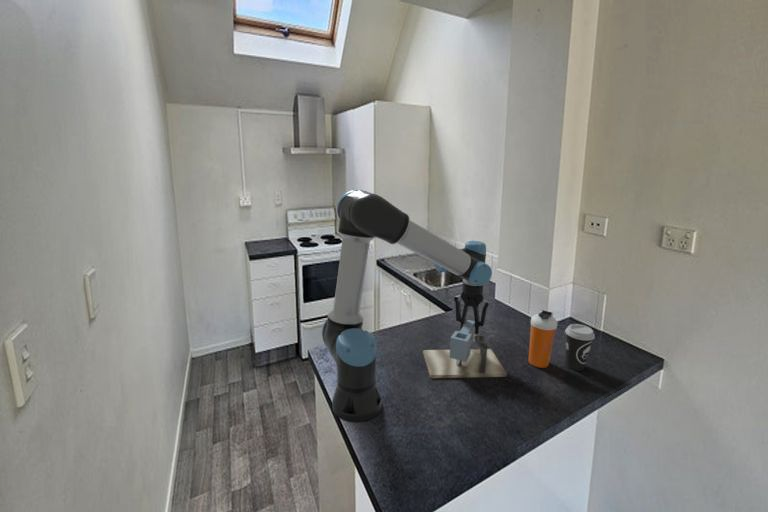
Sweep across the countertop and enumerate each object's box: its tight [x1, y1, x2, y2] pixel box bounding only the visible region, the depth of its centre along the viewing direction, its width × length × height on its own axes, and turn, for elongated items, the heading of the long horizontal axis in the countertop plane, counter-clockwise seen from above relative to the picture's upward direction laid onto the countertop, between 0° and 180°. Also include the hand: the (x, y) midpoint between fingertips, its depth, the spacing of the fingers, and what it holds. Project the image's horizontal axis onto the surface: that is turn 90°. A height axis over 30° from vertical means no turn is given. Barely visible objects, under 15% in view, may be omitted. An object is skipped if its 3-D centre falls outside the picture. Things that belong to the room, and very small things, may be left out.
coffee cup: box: [564, 323, 596, 371], centre depth 136 cm, size 10×10×15 cm
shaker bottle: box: [528, 309, 558, 369], centre depth 137 cm, size 9×9×20 cm
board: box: [422, 348, 508, 379], centre depth 138 cm, size 27×17×1 cm, turn 93°
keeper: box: [475, 335, 490, 373], centre depth 132 cm, size 3×7×12 cm, turn 3°
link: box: [449, 319, 475, 362], centre depth 138 cm, size 17×6×8 cm, turn 153°
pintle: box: [456, 360, 462, 367], centre depth 134 cm, size 2×2×10 cm
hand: (468, 339), depth 144 cm, fingers closed on link, 3 cm apart
